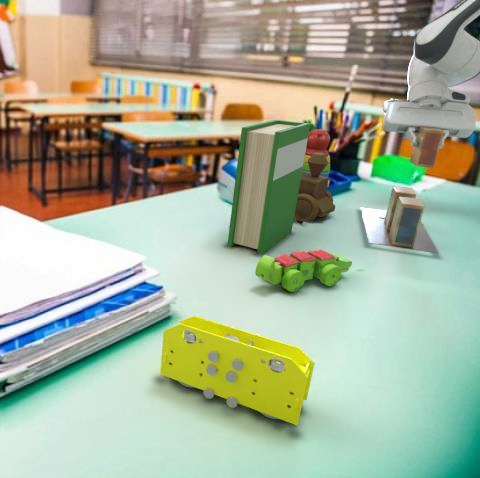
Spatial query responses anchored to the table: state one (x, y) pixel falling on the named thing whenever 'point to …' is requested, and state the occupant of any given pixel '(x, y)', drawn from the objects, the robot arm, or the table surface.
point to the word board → (381, 234)
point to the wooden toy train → (314, 191)
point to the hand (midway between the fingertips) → (427, 146)
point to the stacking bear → (317, 149)
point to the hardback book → (267, 183)
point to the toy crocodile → (302, 268)
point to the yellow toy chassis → (238, 367)
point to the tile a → (393, 200)
